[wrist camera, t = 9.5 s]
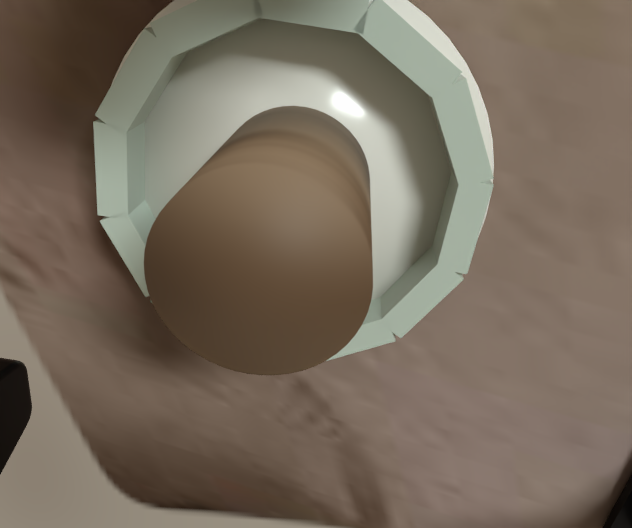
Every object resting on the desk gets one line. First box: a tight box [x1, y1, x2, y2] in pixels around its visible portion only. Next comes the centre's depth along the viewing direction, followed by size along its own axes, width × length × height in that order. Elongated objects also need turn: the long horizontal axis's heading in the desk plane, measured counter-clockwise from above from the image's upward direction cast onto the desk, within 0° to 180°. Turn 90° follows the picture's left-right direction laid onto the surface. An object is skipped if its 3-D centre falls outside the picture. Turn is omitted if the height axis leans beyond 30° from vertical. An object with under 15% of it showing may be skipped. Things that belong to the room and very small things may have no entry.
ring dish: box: [93, 0, 494, 361], centre depth 18 cm, size 13×13×2 cm
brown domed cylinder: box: [144, 106, 373, 375], centre depth 15 cm, size 5×5×7 cm
